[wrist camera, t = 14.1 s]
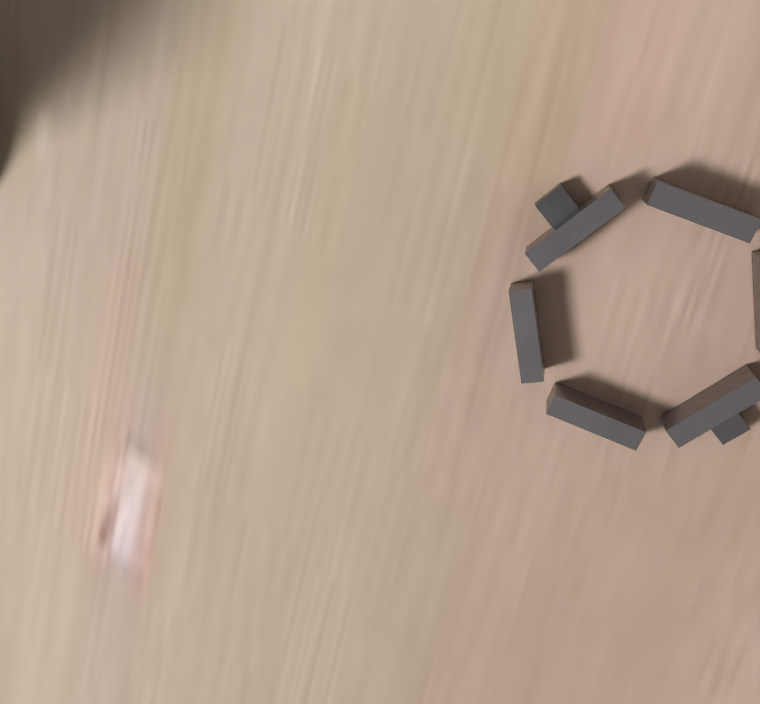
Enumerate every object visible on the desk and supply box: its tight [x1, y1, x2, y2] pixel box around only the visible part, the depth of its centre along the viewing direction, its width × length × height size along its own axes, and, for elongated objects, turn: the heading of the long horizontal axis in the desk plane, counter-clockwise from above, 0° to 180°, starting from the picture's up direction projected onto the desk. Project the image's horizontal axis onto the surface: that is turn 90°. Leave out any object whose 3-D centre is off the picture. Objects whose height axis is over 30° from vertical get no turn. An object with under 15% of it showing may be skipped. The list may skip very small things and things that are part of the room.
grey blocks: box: [509, 178, 760, 450], centre depth 38 cm, size 17×14×2 cm
